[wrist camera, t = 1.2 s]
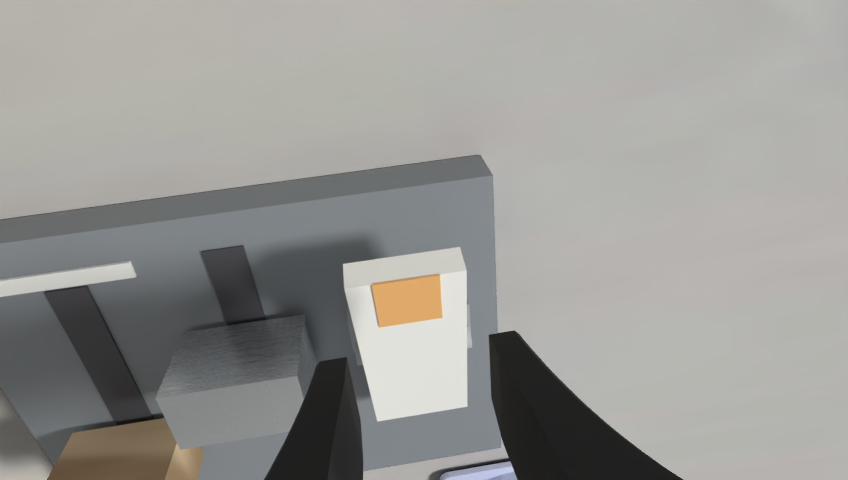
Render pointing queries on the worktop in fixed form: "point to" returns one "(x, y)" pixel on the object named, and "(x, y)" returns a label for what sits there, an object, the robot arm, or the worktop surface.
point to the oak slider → (127, 454)
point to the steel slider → (237, 381)
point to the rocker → (411, 330)
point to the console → (235, 299)
